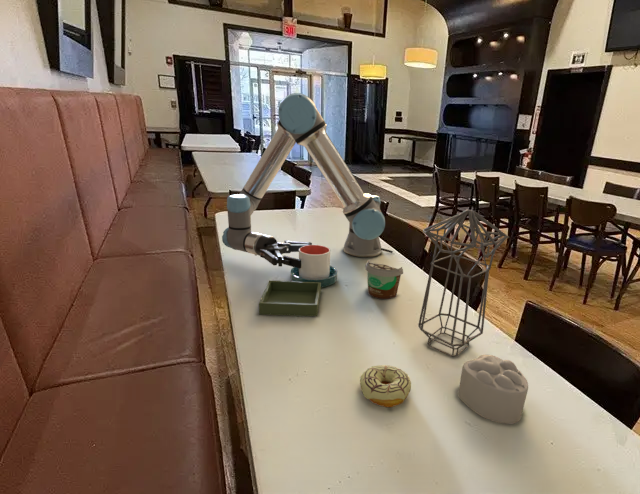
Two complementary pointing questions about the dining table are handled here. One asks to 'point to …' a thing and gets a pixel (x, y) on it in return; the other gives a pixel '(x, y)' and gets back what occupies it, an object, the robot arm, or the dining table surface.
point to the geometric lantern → (459, 220)
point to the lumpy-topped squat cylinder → (493, 388)
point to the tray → (290, 298)
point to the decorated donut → (385, 385)
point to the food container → (382, 280)
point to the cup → (314, 262)
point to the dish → (324, 282)
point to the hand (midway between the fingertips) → (313, 258)
